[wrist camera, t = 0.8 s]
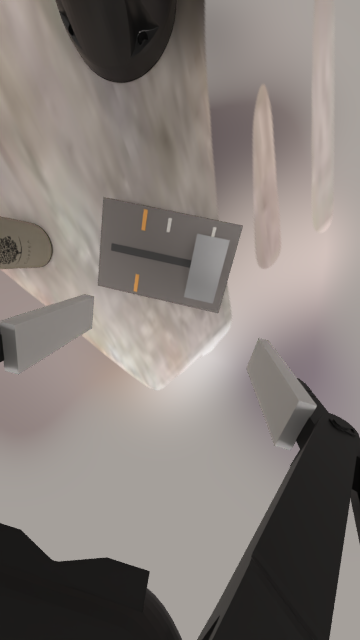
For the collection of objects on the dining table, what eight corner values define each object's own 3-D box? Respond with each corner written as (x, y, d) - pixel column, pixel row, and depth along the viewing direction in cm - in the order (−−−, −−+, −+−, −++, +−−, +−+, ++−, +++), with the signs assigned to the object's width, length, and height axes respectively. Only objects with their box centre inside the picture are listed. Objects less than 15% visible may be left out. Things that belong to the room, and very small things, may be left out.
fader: (189, 287, 32) (183, 297, 23) (199, 241, 29) (197, 233, 21) (210, 291, 32) (212, 303, 23) (222, 246, 29) (229, 240, 21)
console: (106, 283, 37) (97, 285, 34) (112, 202, 33) (102, 196, 30) (217, 309, 36) (218, 313, 33) (239, 228, 31) (243, 225, 28)
